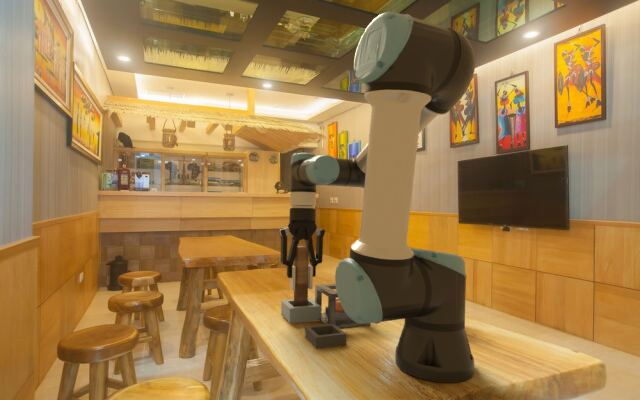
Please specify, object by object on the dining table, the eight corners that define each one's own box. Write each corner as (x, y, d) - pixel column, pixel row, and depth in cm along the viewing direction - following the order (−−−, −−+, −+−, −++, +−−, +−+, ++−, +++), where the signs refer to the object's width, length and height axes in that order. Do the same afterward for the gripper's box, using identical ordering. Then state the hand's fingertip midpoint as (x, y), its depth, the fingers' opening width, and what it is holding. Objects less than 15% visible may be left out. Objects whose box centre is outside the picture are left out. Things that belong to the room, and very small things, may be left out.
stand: (346, 344, 82) (346, 333, 82) (315, 348, 79) (316, 337, 79) (333, 333, 89) (333, 323, 89) (305, 337, 86) (305, 326, 86)
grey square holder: (320, 320, 99) (321, 306, 99) (289, 323, 96) (290, 308, 96) (310, 311, 107) (310, 298, 107) (281, 314, 104) (281, 300, 104)
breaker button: (351, 318, 98) (351, 302, 98) (337, 319, 97) (337, 303, 97) (344, 313, 102) (345, 298, 102) (330, 315, 101) (331, 299, 101)
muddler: (309, 318, 100) (310, 247, 101) (296, 319, 99) (296, 247, 99) (305, 314, 104) (305, 245, 105) (291, 315, 103) (292, 246, 103)
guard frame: (370, 324, 96) (370, 291, 96) (329, 329, 92) (330, 294, 92) (350, 312, 107) (351, 282, 107) (313, 316, 103) (314, 284, 103)
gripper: (326, 207, 109) (324, 284, 108) (269, 206, 103) (268, 287, 102) (335, 208, 102) (334, 289, 101) (276, 206, 96) (274, 293, 95)
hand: (301, 288), depth 102 cm, fingers open, 4 cm apart
